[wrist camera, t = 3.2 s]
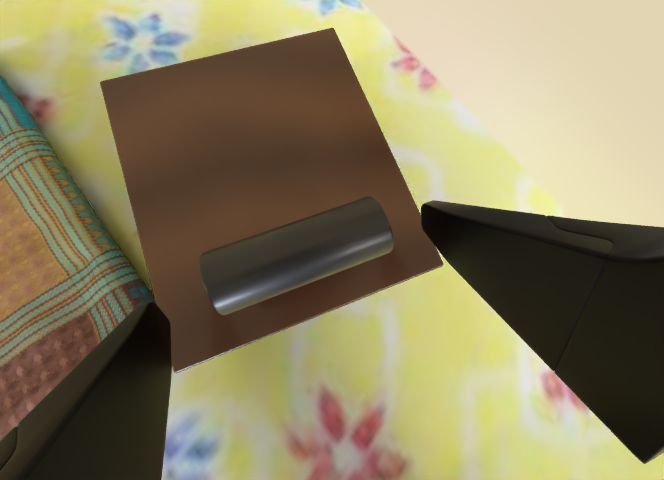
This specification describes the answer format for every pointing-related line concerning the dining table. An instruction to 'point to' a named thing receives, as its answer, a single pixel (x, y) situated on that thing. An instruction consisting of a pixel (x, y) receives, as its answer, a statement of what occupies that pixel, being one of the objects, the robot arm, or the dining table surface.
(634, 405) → the robot arm
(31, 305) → the dish towel
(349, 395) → the dining table surface
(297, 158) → the lid
